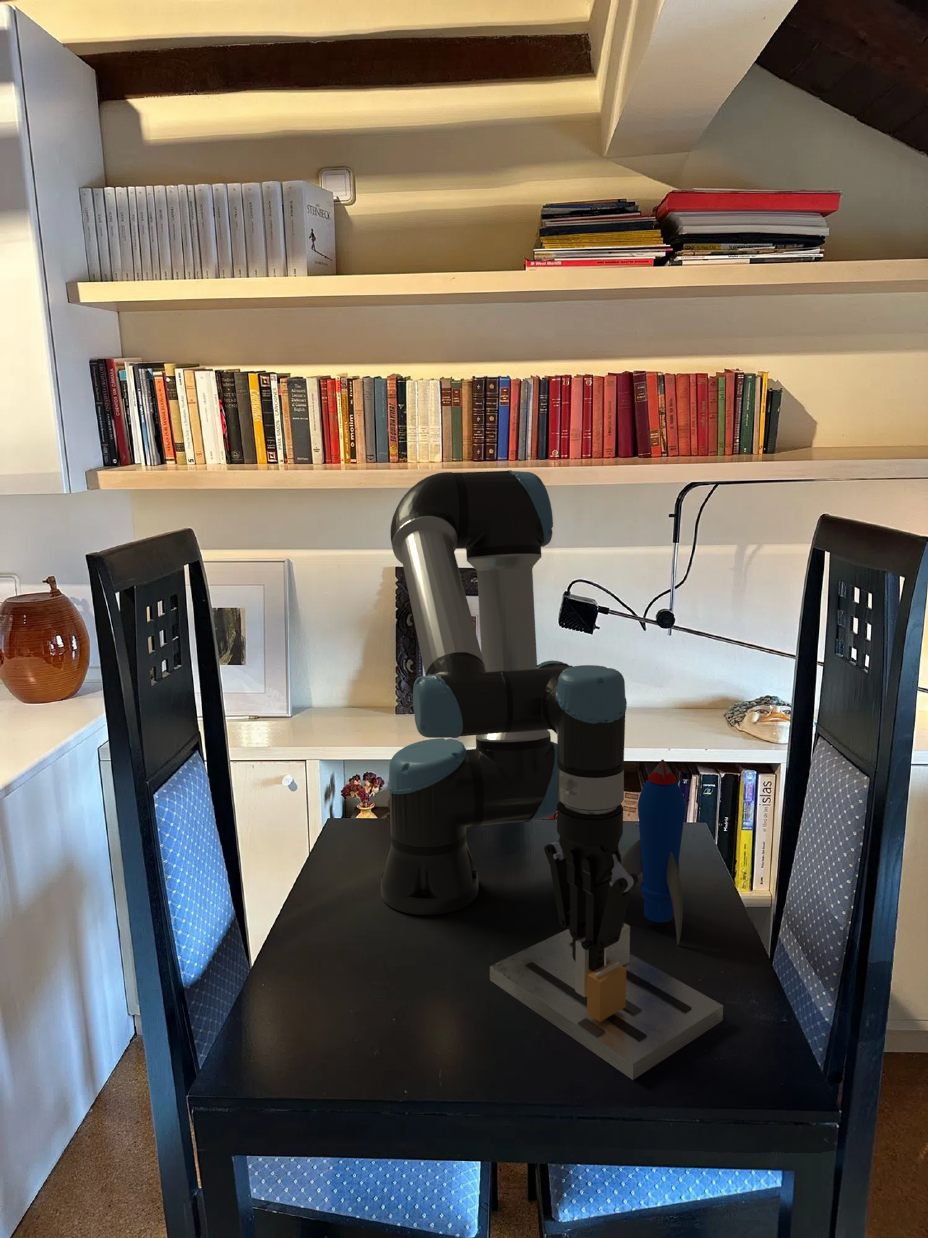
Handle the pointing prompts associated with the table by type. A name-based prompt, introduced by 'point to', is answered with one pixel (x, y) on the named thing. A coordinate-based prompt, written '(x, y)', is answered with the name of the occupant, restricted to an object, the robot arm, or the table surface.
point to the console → (629, 1037)
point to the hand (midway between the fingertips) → (587, 990)
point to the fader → (606, 991)
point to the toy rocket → (659, 847)
